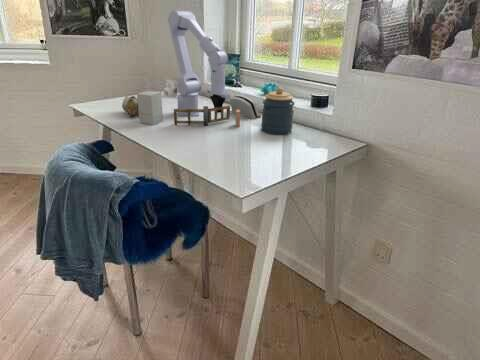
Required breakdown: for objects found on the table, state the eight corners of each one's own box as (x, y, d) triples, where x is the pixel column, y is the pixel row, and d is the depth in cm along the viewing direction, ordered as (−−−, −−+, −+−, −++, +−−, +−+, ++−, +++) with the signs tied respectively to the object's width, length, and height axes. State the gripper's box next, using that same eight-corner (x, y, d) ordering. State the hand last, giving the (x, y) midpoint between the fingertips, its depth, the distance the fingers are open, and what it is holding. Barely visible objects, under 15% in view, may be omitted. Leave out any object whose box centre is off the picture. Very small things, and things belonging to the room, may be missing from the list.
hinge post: (203, 125, 151) (203, 107, 148) (203, 124, 153) (203, 106, 149) (208, 126, 151) (208, 107, 148) (208, 124, 153) (208, 106, 149)
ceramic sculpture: (136, 90, 168) (153, 98, 159) (137, 108, 172) (154, 117, 163) (114, 94, 162) (131, 102, 152) (116, 112, 166) (132, 121, 157)
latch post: (236, 126, 151) (236, 111, 149) (235, 124, 155) (235, 109, 152) (239, 126, 151) (240, 111, 149) (239, 124, 155) (239, 109, 152)
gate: (209, 123, 152) (209, 109, 149) (207, 122, 153) (207, 108, 150) (229, 119, 158) (230, 106, 156) (228, 118, 159) (228, 105, 157)
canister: (255, 127, 152) (258, 85, 144) (282, 124, 157) (285, 83, 149) (269, 136, 141) (273, 91, 134) (297, 133, 146) (302, 90, 138)
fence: (174, 125, 150) (173, 109, 147) (174, 124, 152) (174, 108, 149) (204, 125, 151) (203, 109, 148) (204, 124, 152) (203, 109, 150)
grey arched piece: (261, 117, 166) (257, 98, 160) (254, 122, 164) (249, 102, 158) (239, 109, 178) (234, 91, 172) (232, 113, 176) (227, 95, 170)
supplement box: (163, 121, 155) (161, 92, 150) (153, 125, 149) (150, 95, 144) (150, 118, 158) (147, 90, 153) (139, 123, 152) (136, 93, 147)
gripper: (236, 82, 148) (235, 114, 154) (215, 77, 158) (215, 107, 164) (222, 84, 144) (222, 117, 150) (202, 78, 154) (203, 109, 160)
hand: (218, 112), depth 156 cm, fingers closed
